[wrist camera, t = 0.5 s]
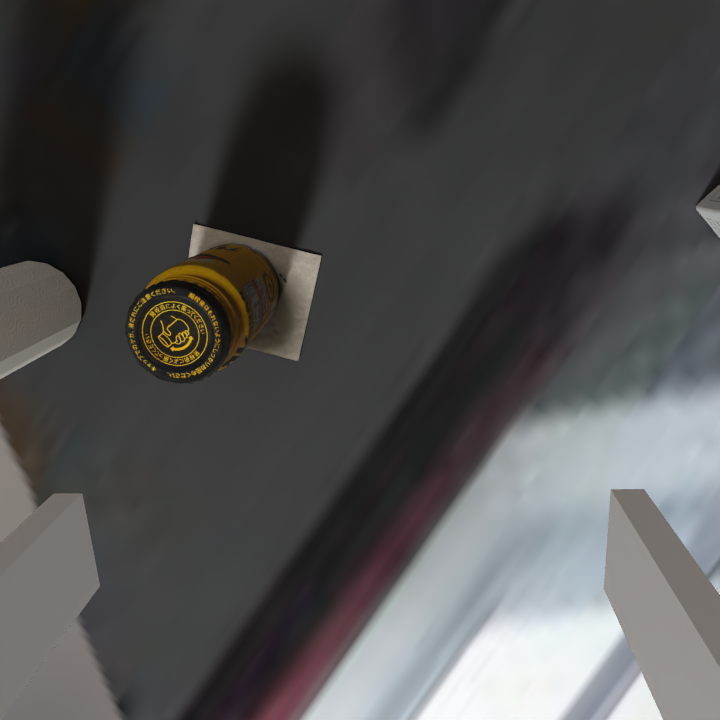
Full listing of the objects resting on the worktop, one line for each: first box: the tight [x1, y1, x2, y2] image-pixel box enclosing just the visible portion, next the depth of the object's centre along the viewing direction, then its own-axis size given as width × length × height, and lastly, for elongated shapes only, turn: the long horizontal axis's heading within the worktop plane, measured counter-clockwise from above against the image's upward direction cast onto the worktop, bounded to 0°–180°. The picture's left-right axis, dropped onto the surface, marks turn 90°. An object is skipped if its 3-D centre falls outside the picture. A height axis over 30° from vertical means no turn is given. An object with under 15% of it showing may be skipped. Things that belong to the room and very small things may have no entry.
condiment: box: [125, 224, 321, 384], centre depth 37 cm, size 7×8×12 cm
